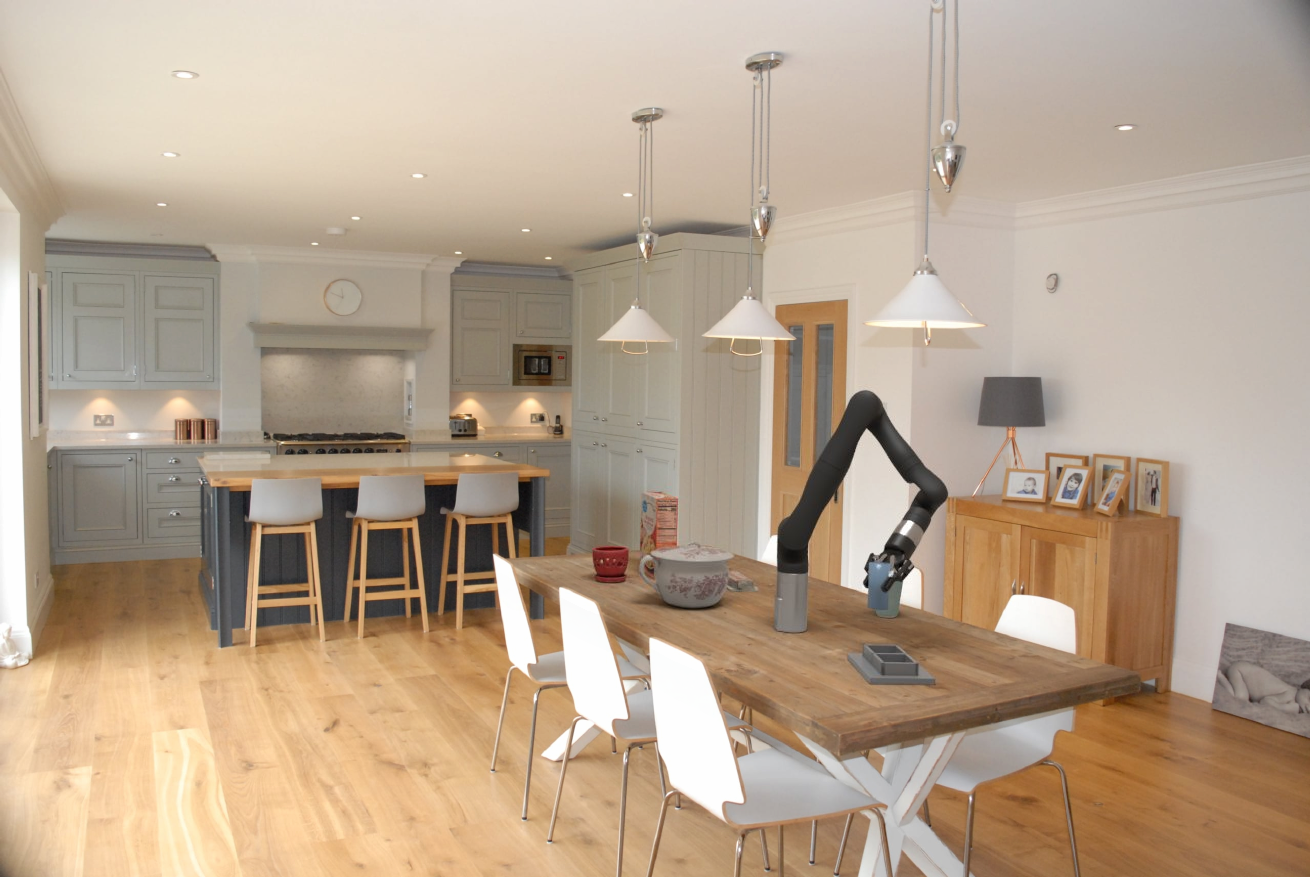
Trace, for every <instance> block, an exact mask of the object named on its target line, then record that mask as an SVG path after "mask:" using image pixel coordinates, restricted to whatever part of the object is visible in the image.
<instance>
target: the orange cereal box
mask: <svg viewBox="0 0 1310 877" xmlns="http://www.w3.org/2000/svg"><path fill="white" fill-rule="evenodd" d="M640 496H641V497H640V498H641V500H640V501H641V502H640V504H641V505H640V532H639V533H640V540H639V562H640V561H641V559H642V558H643V557H644V556H646V555H650V556H652V555H651V552H652V551H653V550H655V549H659V548H663V547H669V546H678V521H679V518H678V516H679V512H678V511H679V498H678V497H675V496H673V495H670V494H668V493H666V492H664V491H641V495H640ZM652 557H653V556H652ZM655 558H656V557H655ZM656 559H657V560H658V558H656ZM644 573H645V574H646V573H647V574H648V577H650V578H651V577H652V578H651V579H653V580H654V581H655V576H654V562H651V561H648V562H645V565H644ZM647 574H646V575H647Z"/></svg>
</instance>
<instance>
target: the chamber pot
mask: <svg viewBox="0 0 1310 877" xmlns="http://www.w3.org/2000/svg"><path fill="white" fill-rule="evenodd" d="M651 555H652V556H653V557H652V556H650V555H646V556H644V557H643V558H642V559H641V561H640V560H639V562H638V569H637V570H638V573H639V576H640V578H641V579H642V580H643V581H644V582H645V583H646V584H648V585H649V586H650V587H652V588H653V589H654V590H655V591H656V593H657V594H658V595H659V596H660V597H661V598H662V599H663V601H664V602H665V603H667V604H669V605H671V606H673V607H677V608H682V609H691V610H692V609H704V608H709V607H712V606H714V605H716V604H717V603H718V602H719V601H720V600H721V598H722V597H723V595H724V593H725V592H726V590H728V589H727V585H728V581H729V572H730V568H729V567H728V564H727V561H730V560H732V559H734V557H735V554H733V552H730V551H728V550H725V549H722V548H718V547H712V546H707V545H705V546H704V545H701V544H700V542H699V541H695V540H693V541H688V542H686V543H685V544H684V545H683V544H682V545H677V546H669V547H663V548H659V549H655V550H653V551H652V552H651ZM655 557H656V558H658V560H657V559H656V558H655ZM648 561H651V562H654V576H655V580H654V582H653V581H651V580H650V579H649V578H648V577H647V576H646V573H645V572H644V565H645V562H648Z"/></svg>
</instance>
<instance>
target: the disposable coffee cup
mask: <svg viewBox="0 0 1310 877" xmlns="http://www.w3.org/2000/svg"><path fill="white" fill-rule="evenodd" d="M902 574H903V573H902ZM902 574H901V576H902ZM903 585H904V580H903V581H902V582H899V581H897V582H895V583H894V584H893V585H892V587H891V589H890V590H889V609H887V610H875V613H876V616H877V617H880V618H886V619H892V618H897V616H898V614H899V609H900V603H901V597H902V593H903V592H902V590H903Z"/></svg>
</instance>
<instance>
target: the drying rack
mask: <svg viewBox="0 0 1310 877" xmlns="http://www.w3.org/2000/svg"><path fill="white" fill-rule="evenodd" d="M846 654H847V655H846V658H847V660H848V662H849V663H850V664H851V665H852V666H853V667H854V668H855V669H856V670H857V671H858V672H859V674H860V675H861V676H862V677H863V678H864V679H865V680H866V682H867V683H868V684H869V685H907V686H909V685H911V686H912V685H918V686H919V685H921V686H922V685H923V686H931V685H933V686H934V685H935V686H936V678H935V677H934V676H933V675H932V674H931V673H930V672H929V671H927V670H926V669H925V668H924V667H923V666H922V665H920V664H919V662H918V661H917V660H915V658H913V657H912V656H911V655H910V654H909V653H907V652H906V651H905V650H904V649H903V648H902V647H900V646H899V645H898V644H866V643H865V644H862V652H861V653H860V652H859V653H858V652H847V653H846Z"/></svg>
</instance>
